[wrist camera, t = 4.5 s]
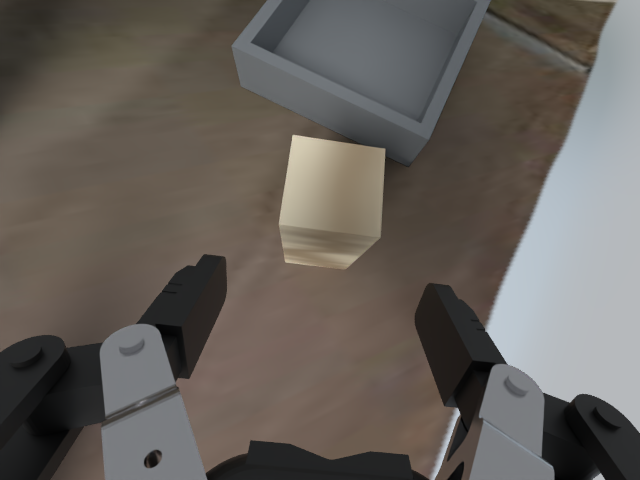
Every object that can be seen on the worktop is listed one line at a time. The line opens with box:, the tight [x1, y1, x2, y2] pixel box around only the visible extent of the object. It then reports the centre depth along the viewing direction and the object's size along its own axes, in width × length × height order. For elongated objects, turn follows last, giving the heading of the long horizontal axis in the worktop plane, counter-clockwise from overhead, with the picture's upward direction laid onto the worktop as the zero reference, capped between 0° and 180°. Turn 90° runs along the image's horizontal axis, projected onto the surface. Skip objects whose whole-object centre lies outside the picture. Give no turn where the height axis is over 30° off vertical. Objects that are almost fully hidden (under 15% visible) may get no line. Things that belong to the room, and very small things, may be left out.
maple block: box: [279, 135, 385, 270], centre depth 17 cm, size 4×4×9 cm
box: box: [232, 0, 491, 167], centre depth 24 cm, size 16×16×4 cm
